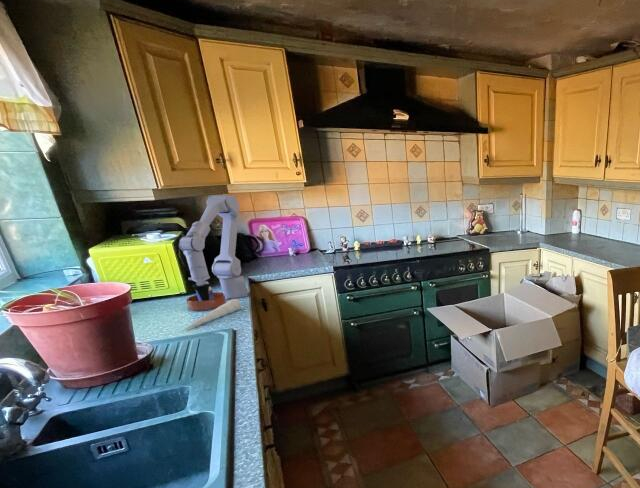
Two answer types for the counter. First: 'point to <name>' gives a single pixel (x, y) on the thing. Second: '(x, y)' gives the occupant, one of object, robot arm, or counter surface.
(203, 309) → the bowl
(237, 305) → the unicorn horn
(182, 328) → the counter surface
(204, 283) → the pill bottle
